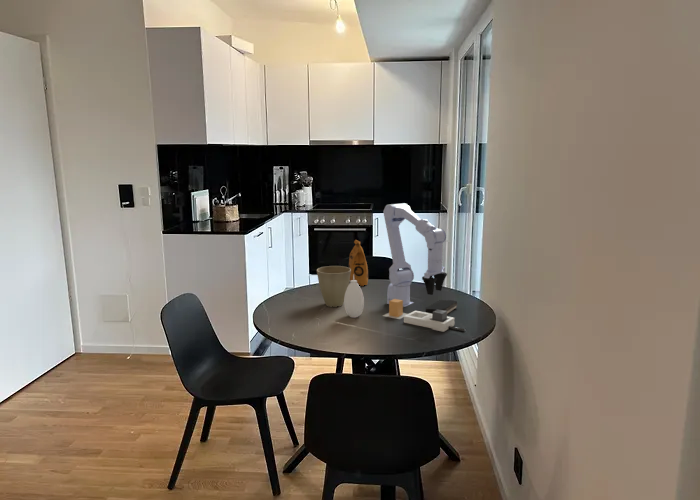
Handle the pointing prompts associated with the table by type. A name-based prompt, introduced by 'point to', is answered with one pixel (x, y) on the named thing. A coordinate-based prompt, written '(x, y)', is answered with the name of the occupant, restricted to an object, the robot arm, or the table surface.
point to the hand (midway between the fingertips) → (434, 292)
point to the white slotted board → (430, 321)
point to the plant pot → (333, 284)
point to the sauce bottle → (354, 299)
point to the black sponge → (442, 306)
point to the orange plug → (396, 307)
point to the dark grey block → (439, 315)
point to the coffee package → (358, 265)
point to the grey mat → (394, 316)
